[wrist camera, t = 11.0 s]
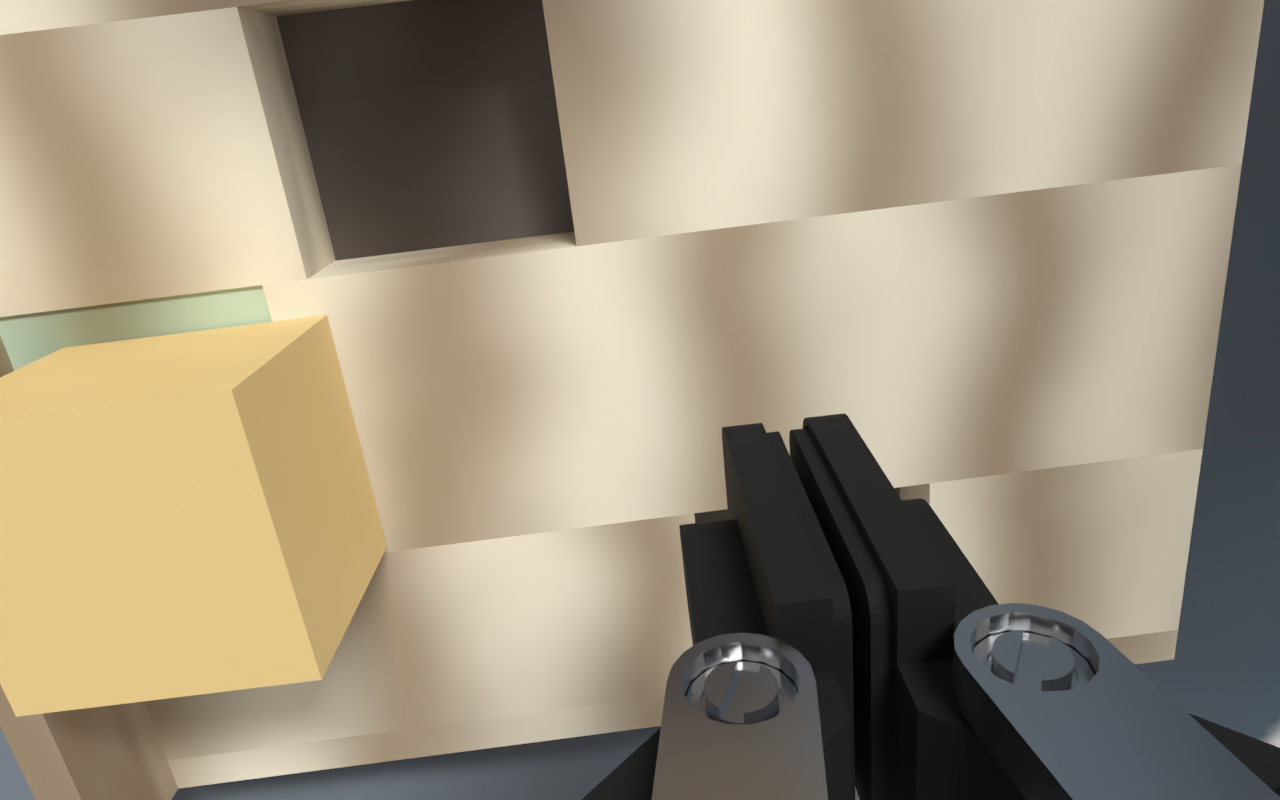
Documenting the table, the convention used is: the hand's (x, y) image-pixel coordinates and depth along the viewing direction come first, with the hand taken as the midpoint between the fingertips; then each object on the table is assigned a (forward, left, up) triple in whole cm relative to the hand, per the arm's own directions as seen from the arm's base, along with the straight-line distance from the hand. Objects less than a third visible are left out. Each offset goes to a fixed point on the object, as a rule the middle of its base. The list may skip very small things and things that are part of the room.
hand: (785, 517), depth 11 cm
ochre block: (+11, +1, -9) cm, 14 cm away
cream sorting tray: (+2, +1, -11) cm, 11 cm away
